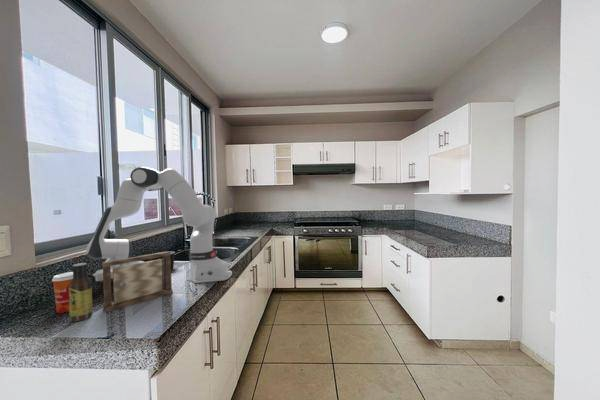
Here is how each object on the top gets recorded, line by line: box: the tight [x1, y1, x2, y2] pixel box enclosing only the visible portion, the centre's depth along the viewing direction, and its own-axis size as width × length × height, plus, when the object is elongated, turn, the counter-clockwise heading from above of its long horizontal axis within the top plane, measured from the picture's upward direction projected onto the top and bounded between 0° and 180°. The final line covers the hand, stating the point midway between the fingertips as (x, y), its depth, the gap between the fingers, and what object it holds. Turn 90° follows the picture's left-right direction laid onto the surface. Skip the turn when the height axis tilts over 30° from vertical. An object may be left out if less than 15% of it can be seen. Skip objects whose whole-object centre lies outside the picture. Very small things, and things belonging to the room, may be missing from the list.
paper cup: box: [51, 271, 73, 314], centre depth 96 cm, size 8×8×14 cm
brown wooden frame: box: [102, 250, 174, 313], centre depth 104 cm, size 24×6×18 cm, turn 137°
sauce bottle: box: [69, 262, 93, 322], centre depth 89 cm, size 6×6×20 cm
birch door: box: [112, 258, 165, 303], centre depth 104 cm, size 19×3×14 cm, turn 137°
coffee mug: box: [151, 251, 176, 271], centre depth 147 cm, size 12×9×10 cm
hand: (126, 274), depth 112 cm, fingers closed
